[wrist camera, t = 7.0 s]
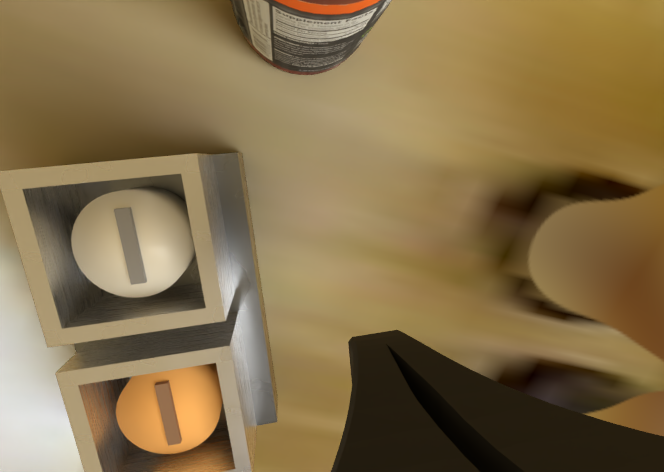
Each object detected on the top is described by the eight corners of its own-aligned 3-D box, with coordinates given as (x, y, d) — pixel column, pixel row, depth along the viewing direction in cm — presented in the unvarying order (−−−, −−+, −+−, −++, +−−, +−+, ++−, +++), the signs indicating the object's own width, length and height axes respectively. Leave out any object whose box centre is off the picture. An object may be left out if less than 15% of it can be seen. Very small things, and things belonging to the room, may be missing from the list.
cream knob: (208, 273, 16) (197, 291, 13) (111, 286, 15) (83, 306, 13) (191, 181, 15) (177, 185, 13) (88, 191, 14) (54, 197, 12)
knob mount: (277, 395, 20) (277, 473, 15) (122, 423, 19) (68, 516, 14) (241, 153, 17) (227, 150, 12) (57, 170, 16) (-41, 174, 11)
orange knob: (232, 411, 17) (226, 447, 15) (145, 427, 17) (126, 466, 15) (219, 336, 16) (210, 362, 14) (126, 350, 16) (103, 379, 14)
